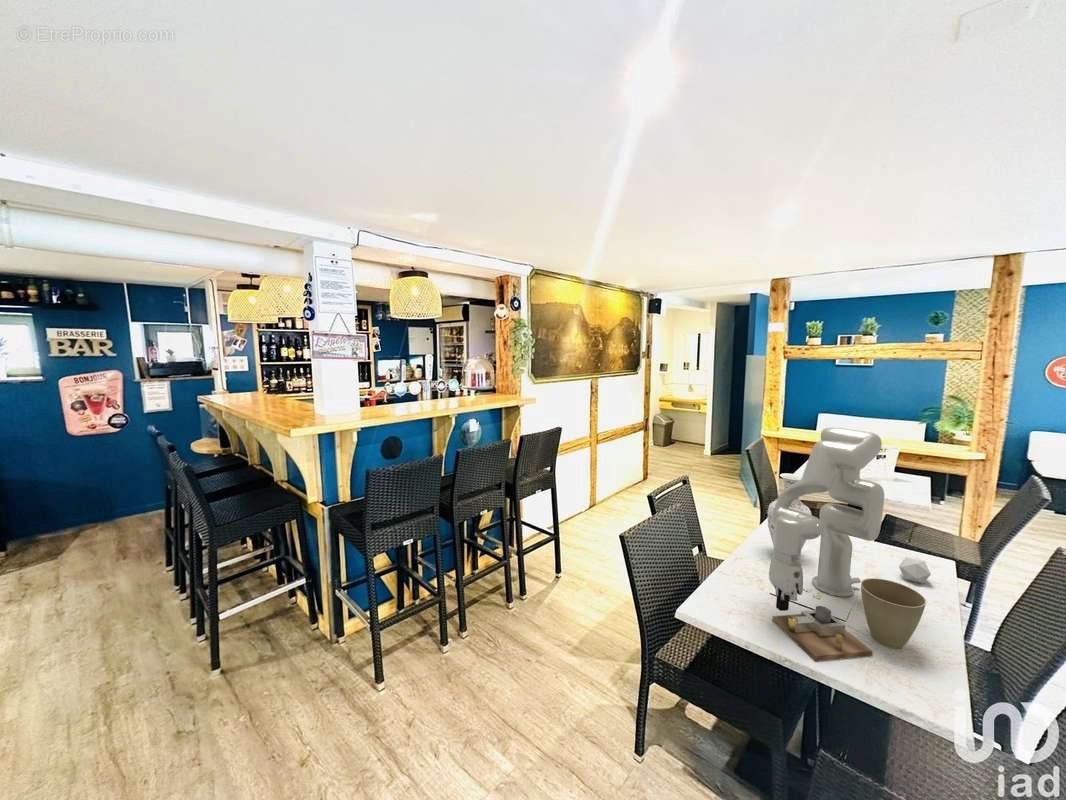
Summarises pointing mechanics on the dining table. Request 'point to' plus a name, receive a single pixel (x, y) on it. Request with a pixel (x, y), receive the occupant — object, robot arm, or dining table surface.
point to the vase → (795, 505)
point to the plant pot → (891, 611)
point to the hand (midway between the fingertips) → (782, 609)
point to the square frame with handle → (815, 625)
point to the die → (914, 570)
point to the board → (824, 639)
